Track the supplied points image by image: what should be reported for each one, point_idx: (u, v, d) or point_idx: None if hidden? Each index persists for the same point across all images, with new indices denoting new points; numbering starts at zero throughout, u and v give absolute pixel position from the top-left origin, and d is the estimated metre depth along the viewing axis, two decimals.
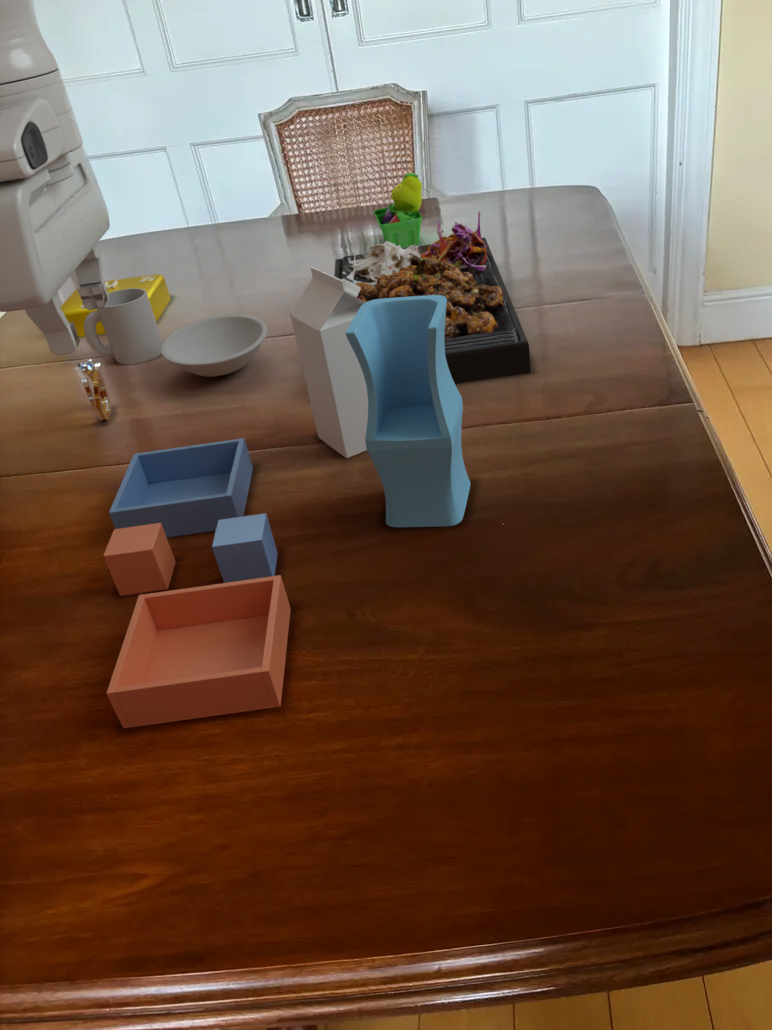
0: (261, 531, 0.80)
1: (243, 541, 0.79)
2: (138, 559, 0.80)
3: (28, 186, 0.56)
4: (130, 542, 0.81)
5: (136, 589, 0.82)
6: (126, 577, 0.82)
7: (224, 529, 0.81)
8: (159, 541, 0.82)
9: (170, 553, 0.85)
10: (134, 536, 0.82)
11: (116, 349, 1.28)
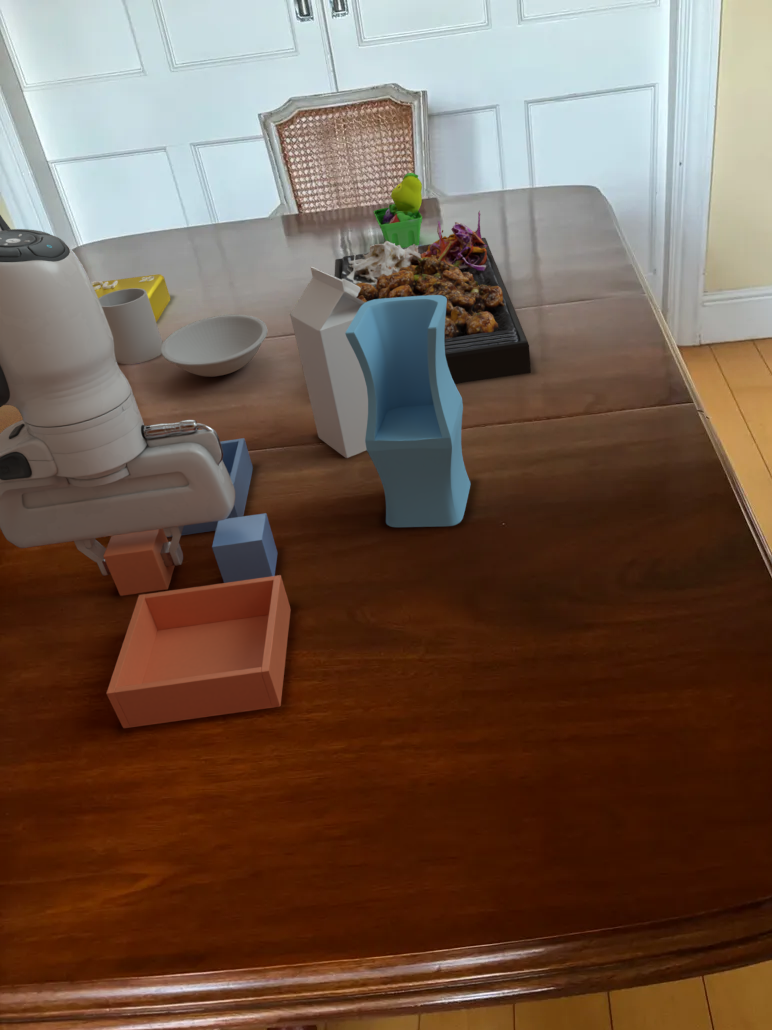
0: (261, 531, 0.80)
1: (243, 541, 0.79)
2: (138, 559, 0.80)
3: (4, 485, 0.75)
4: (130, 542, 0.81)
5: (136, 589, 0.82)
6: (126, 577, 0.82)
7: (224, 529, 0.81)
8: (160, 541, 0.82)
9: None
10: (134, 536, 0.82)
11: (116, 349, 1.28)
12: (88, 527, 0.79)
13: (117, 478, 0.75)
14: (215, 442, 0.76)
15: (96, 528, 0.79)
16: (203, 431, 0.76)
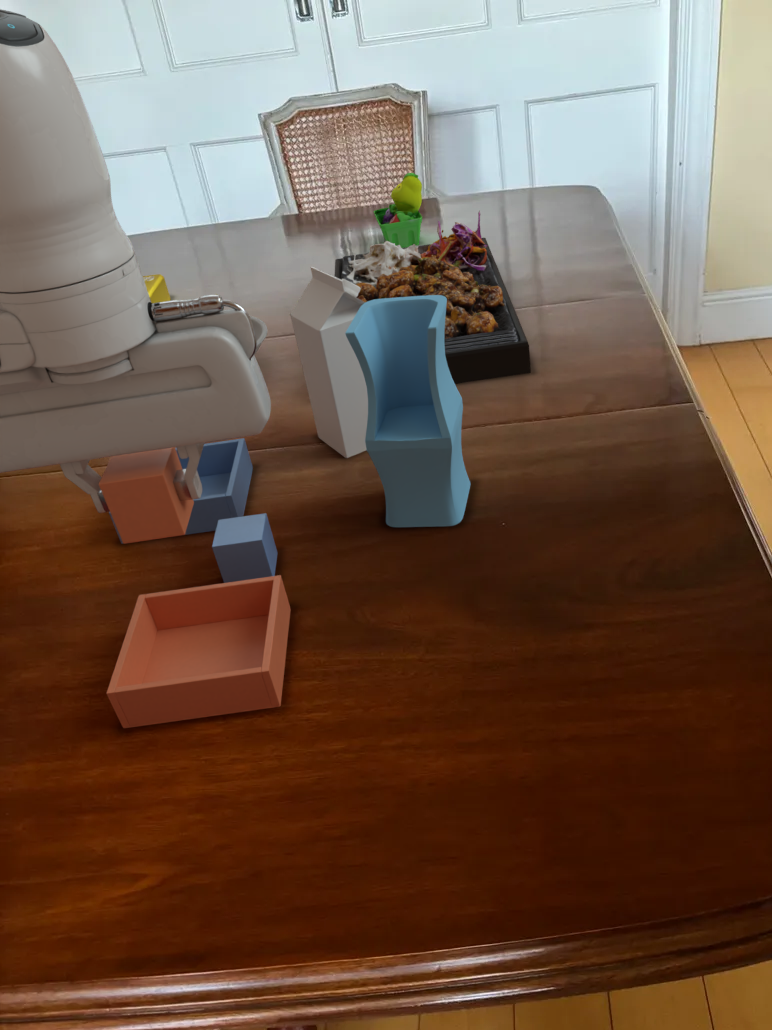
0: (261, 531, 0.80)
1: (243, 541, 0.79)
2: (144, 489, 0.61)
3: None
4: (134, 467, 0.62)
5: (142, 529, 0.63)
6: (129, 513, 0.62)
7: (224, 529, 0.81)
8: (172, 466, 0.63)
9: None
10: (139, 460, 0.63)
11: None
12: (78, 444, 0.59)
13: (116, 373, 0.56)
14: (246, 326, 0.57)
15: (89, 446, 0.60)
16: (231, 311, 0.57)
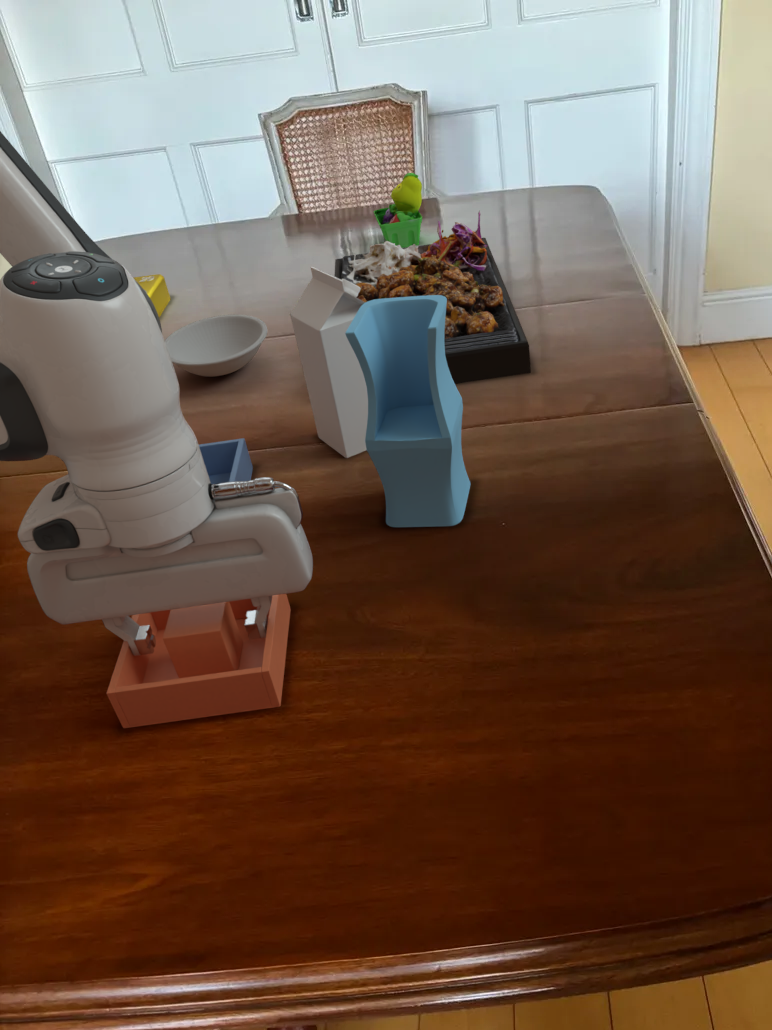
0: None
1: None
2: (203, 642, 0.69)
3: (46, 556, 0.63)
4: (193, 621, 0.70)
5: (199, 674, 0.71)
6: (189, 661, 0.70)
7: None
8: (226, 618, 0.71)
9: (236, 629, 0.73)
10: (197, 612, 0.70)
11: None
12: (142, 601, 0.67)
13: (180, 547, 0.63)
14: (295, 503, 0.64)
15: (151, 602, 0.67)
16: (281, 490, 0.64)
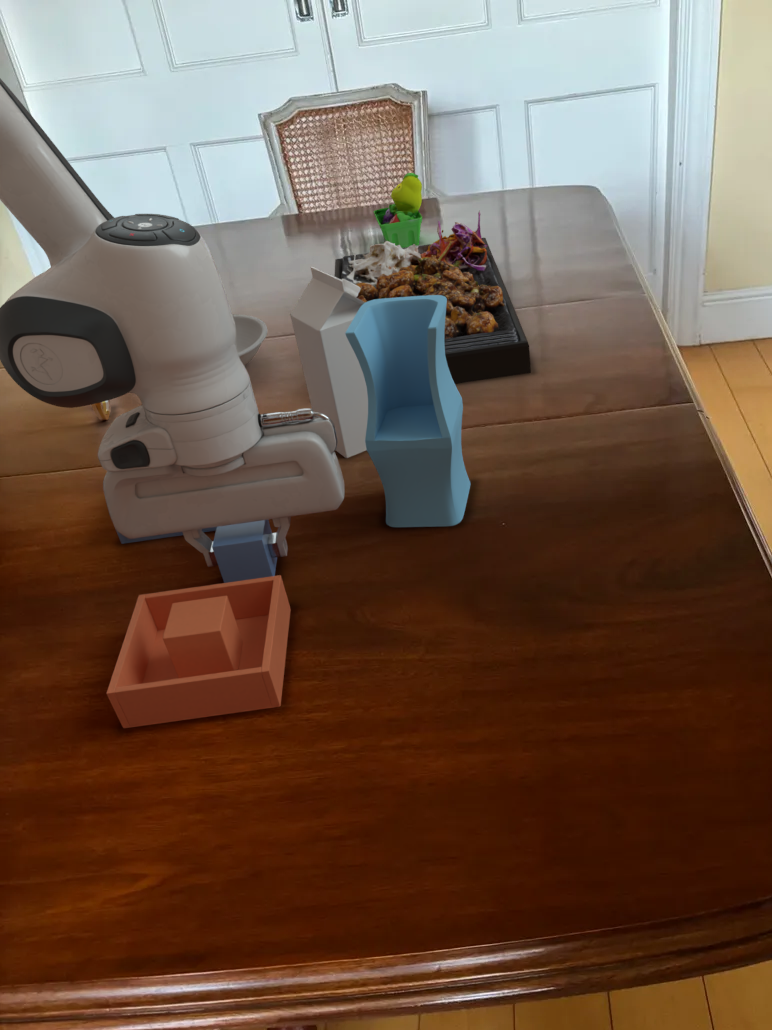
0: (261, 531, 0.80)
1: (243, 541, 0.79)
2: (203, 642, 0.69)
3: (120, 474, 0.74)
4: (193, 621, 0.70)
5: (199, 674, 0.71)
6: (189, 661, 0.70)
7: (224, 529, 0.81)
8: (226, 618, 0.71)
9: (236, 629, 0.73)
10: (197, 612, 0.70)
11: None
12: (199, 517, 0.78)
13: (233, 467, 0.74)
14: (331, 431, 0.75)
15: (207, 518, 0.78)
16: (319, 420, 0.75)
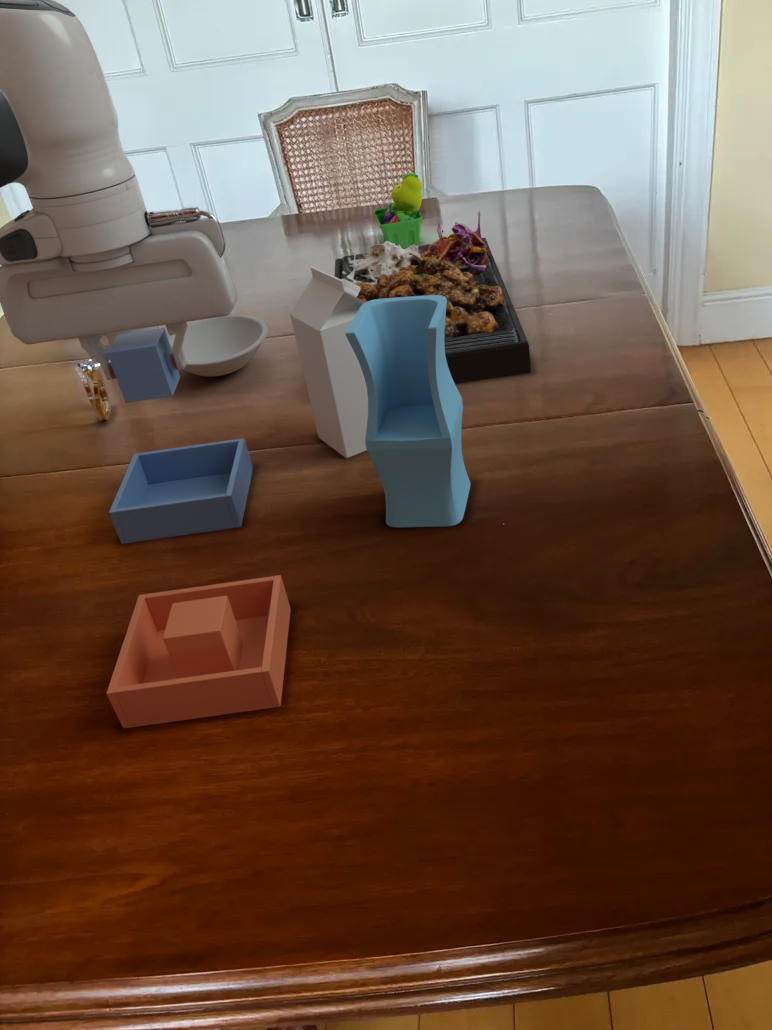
0: (156, 340, 0.82)
1: (137, 347, 0.81)
2: (203, 642, 0.69)
3: (10, 269, 0.76)
4: (193, 621, 0.70)
5: (199, 674, 0.71)
6: (189, 661, 0.70)
7: (121, 340, 0.83)
8: (226, 618, 0.71)
9: (236, 629, 0.73)
10: (197, 612, 0.70)
11: None
12: (92, 321, 0.80)
13: (121, 263, 0.76)
14: (217, 230, 0.77)
15: (100, 322, 0.80)
16: (205, 219, 0.77)
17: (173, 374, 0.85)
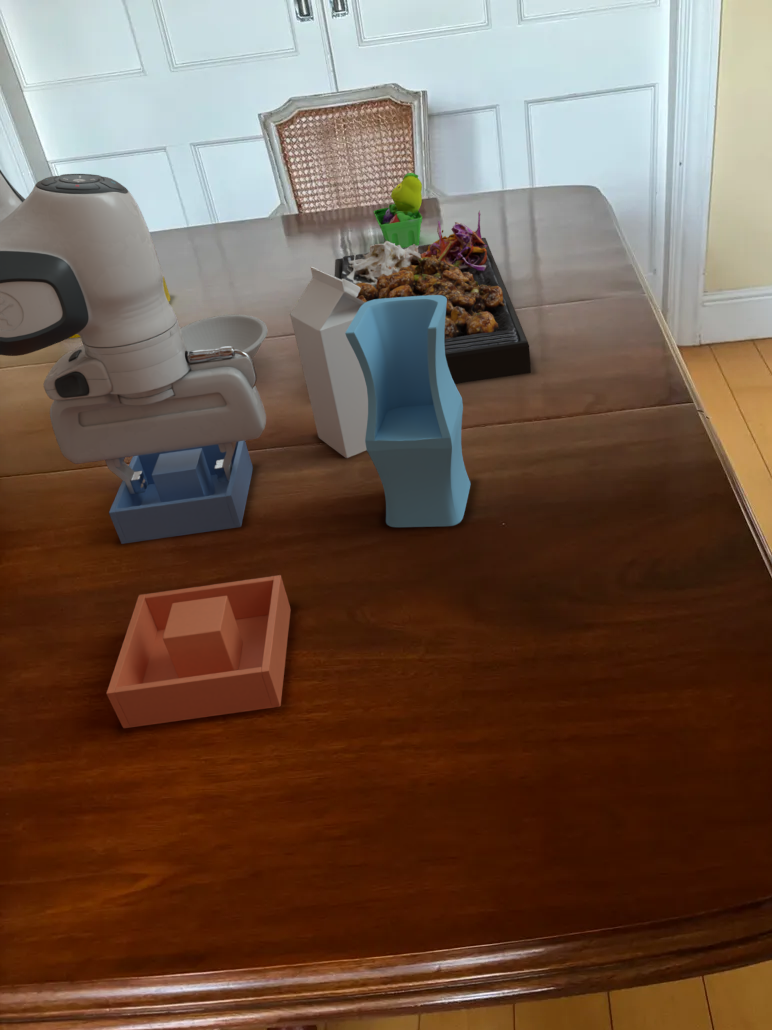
0: (196, 462, 0.91)
1: (179, 470, 0.90)
2: (203, 642, 0.69)
3: (64, 403, 0.84)
4: (193, 621, 0.70)
5: (199, 674, 0.71)
6: (189, 661, 0.70)
7: (163, 461, 0.92)
8: (226, 618, 0.71)
9: (236, 629, 0.73)
10: (197, 612, 0.70)
11: None
12: (136, 444, 0.88)
13: (164, 397, 0.85)
14: (250, 366, 0.86)
15: (143, 445, 0.88)
16: (240, 356, 0.85)
17: (209, 489, 0.94)
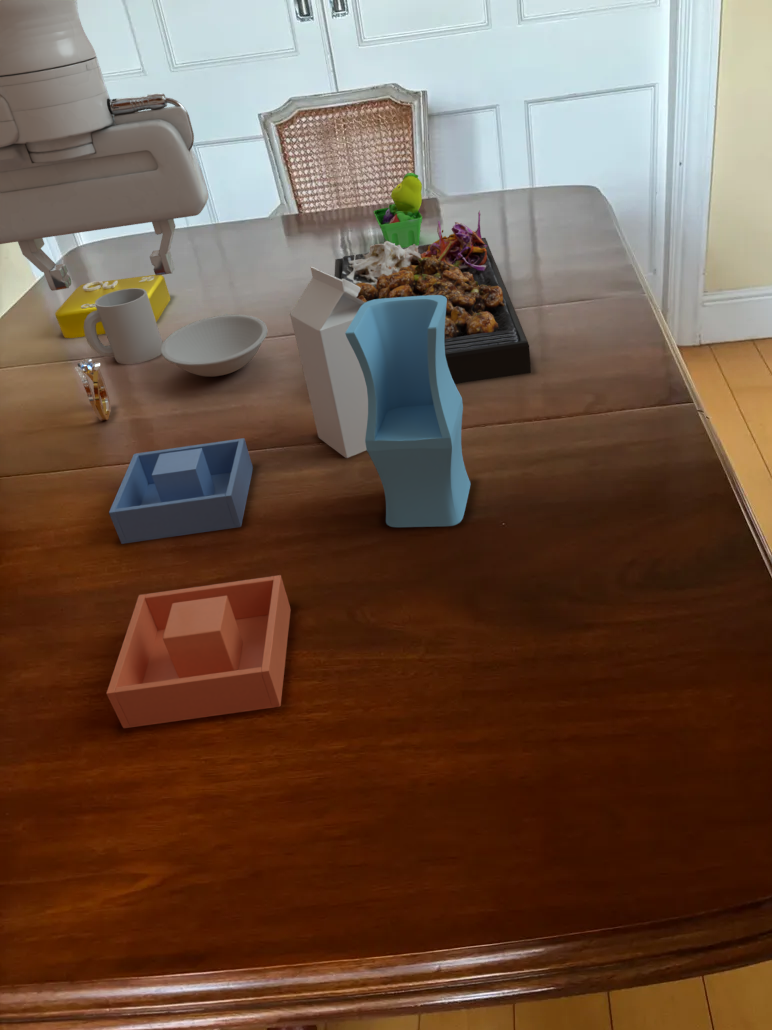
0: (196, 462, 0.91)
1: (179, 470, 0.90)
2: (203, 642, 0.69)
3: None
4: (193, 621, 0.70)
5: (199, 674, 0.71)
6: (189, 661, 0.70)
7: (163, 461, 0.92)
8: (226, 618, 0.71)
9: (236, 629, 0.73)
10: (197, 612, 0.70)
11: (116, 349, 1.28)
12: (54, 219, 0.75)
13: (82, 153, 0.72)
14: (185, 120, 0.73)
15: (62, 221, 0.75)
16: (172, 107, 0.72)
17: (209, 489, 0.94)
